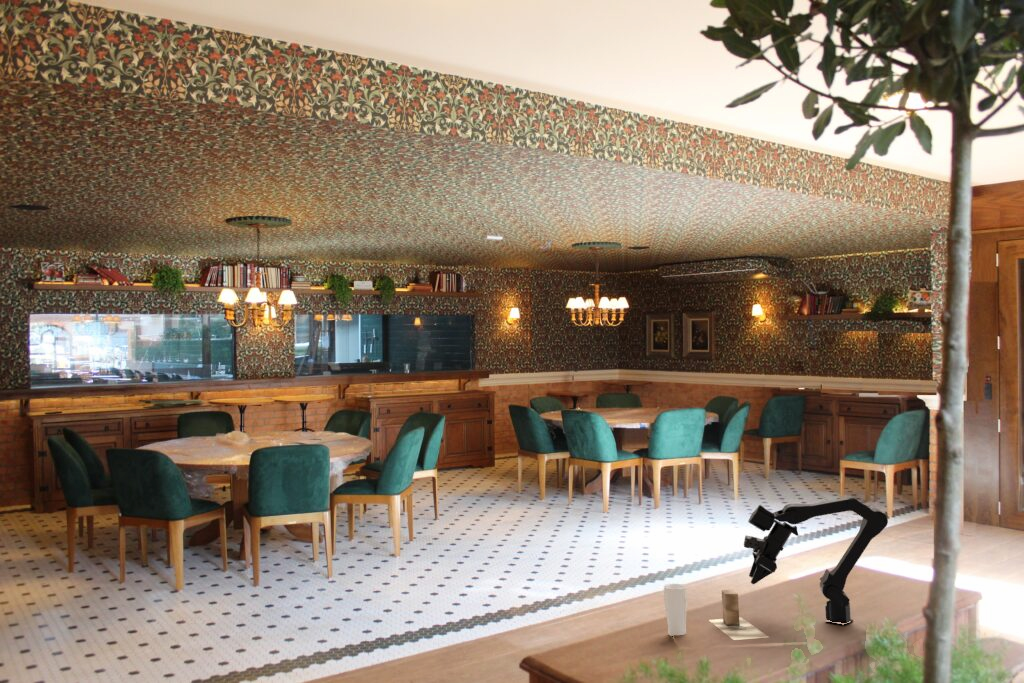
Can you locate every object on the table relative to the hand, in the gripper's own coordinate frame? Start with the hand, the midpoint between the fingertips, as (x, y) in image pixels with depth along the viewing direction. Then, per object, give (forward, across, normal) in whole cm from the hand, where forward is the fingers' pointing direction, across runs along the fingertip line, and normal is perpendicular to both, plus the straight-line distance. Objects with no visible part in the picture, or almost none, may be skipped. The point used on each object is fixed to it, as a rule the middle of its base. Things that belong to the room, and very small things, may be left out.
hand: (751, 580), depth 275 cm
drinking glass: (+24, +17, -13) cm, 32 cm away
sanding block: (+14, +6, +1) cm, 16 cm away
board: (+14, +11, +3) cm, 18 cm away
